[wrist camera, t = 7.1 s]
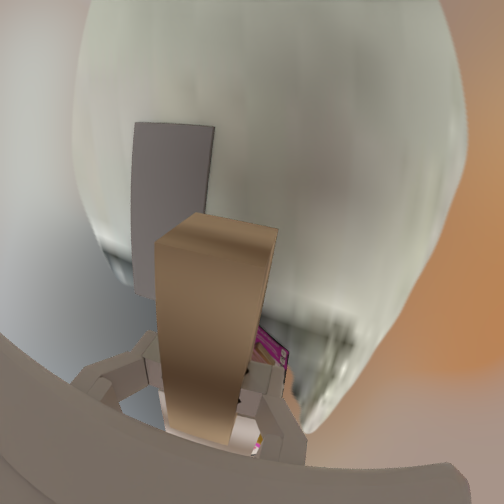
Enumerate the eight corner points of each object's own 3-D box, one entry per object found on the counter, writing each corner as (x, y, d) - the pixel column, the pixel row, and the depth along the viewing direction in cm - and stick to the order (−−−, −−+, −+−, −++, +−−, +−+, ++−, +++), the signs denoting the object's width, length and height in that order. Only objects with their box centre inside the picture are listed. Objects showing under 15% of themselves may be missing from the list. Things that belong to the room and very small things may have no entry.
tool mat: (137, 122, 29) (134, 122, 28) (214, 127, 27) (212, 126, 27) (136, 291, 39) (134, 293, 38) (197, 310, 38) (196, 312, 37)
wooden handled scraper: (159, 205, 10) (111, 231, 7) (321, 238, 9) (324, 281, 7) (172, 430, 17) (158, 460, 14) (249, 453, 16) (240, 485, 14)
